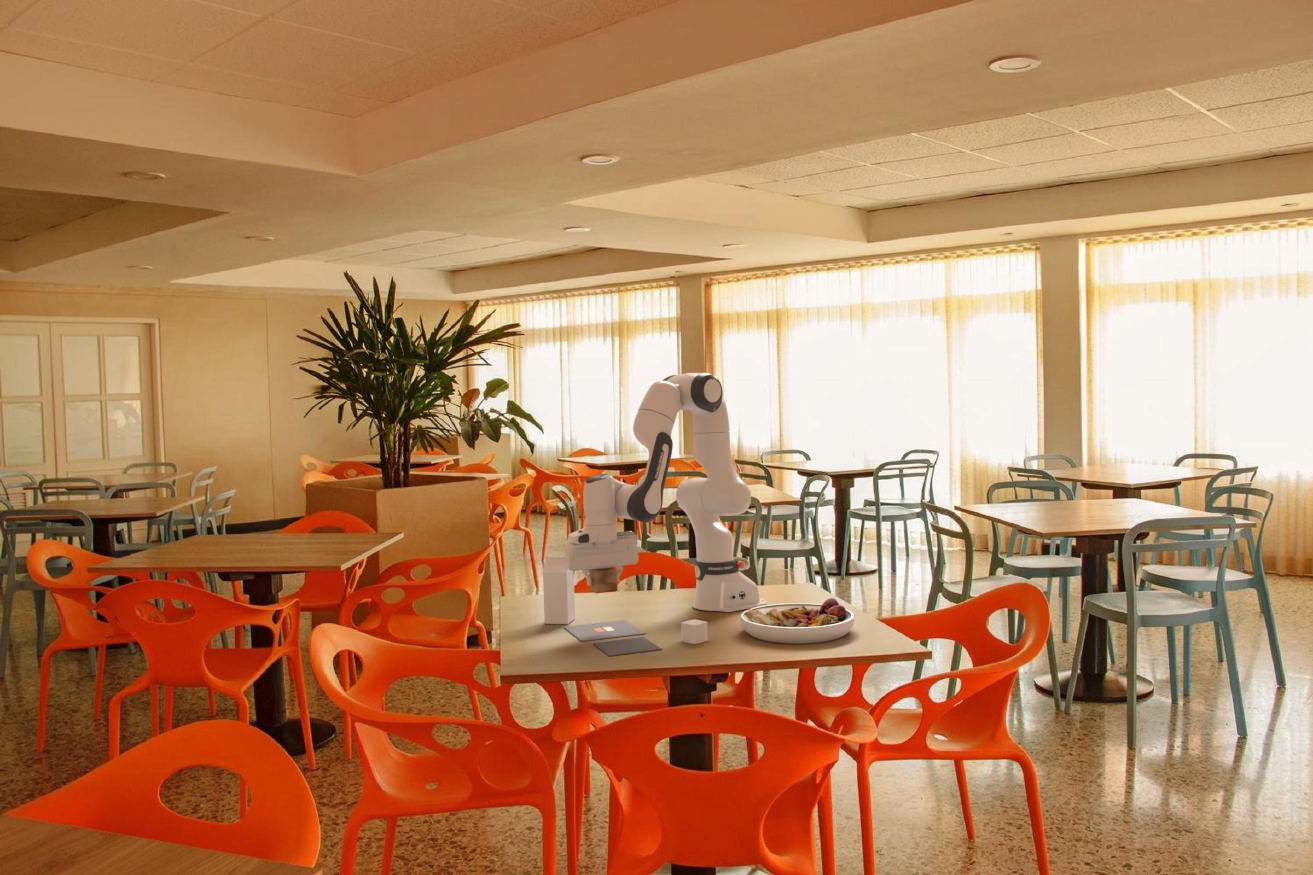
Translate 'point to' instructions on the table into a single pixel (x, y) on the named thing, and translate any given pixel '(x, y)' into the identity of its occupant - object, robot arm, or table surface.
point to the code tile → (603, 630)
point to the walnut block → (603, 579)
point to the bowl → (798, 622)
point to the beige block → (694, 631)
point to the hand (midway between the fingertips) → (603, 583)
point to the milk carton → (558, 592)
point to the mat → (627, 646)
